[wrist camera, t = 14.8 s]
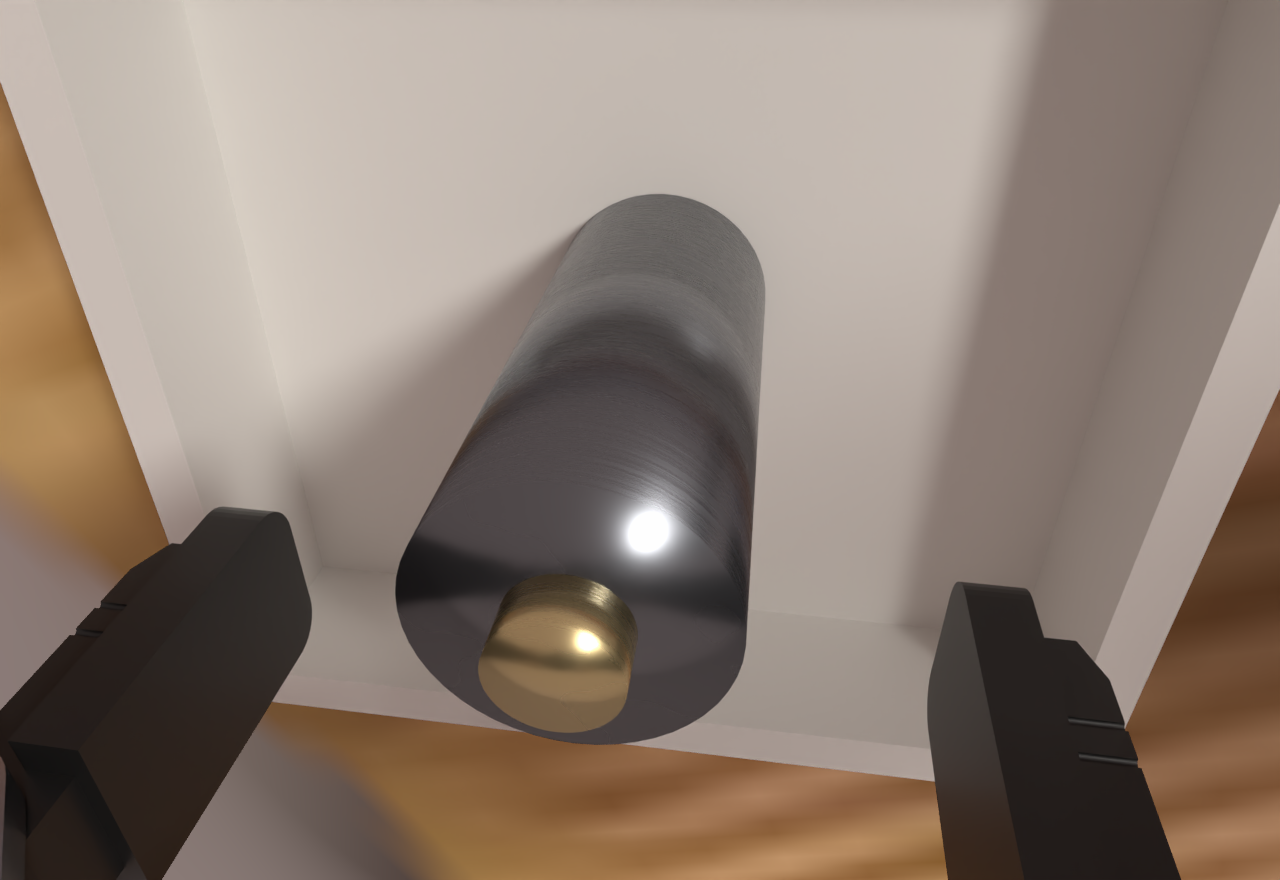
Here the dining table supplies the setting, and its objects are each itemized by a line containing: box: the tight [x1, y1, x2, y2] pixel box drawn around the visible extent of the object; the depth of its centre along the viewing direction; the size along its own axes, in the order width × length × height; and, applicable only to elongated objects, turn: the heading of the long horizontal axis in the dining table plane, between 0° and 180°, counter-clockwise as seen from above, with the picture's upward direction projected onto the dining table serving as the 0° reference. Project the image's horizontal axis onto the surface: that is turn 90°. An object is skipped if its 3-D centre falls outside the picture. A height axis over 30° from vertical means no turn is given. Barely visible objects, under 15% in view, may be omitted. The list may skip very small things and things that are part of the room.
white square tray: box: [0, 0, 1280, 781], centre depth 17 cm, size 19×18×4 cm
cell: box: [395, 194, 765, 745], centre depth 14 cm, size 4×4×10 cm
